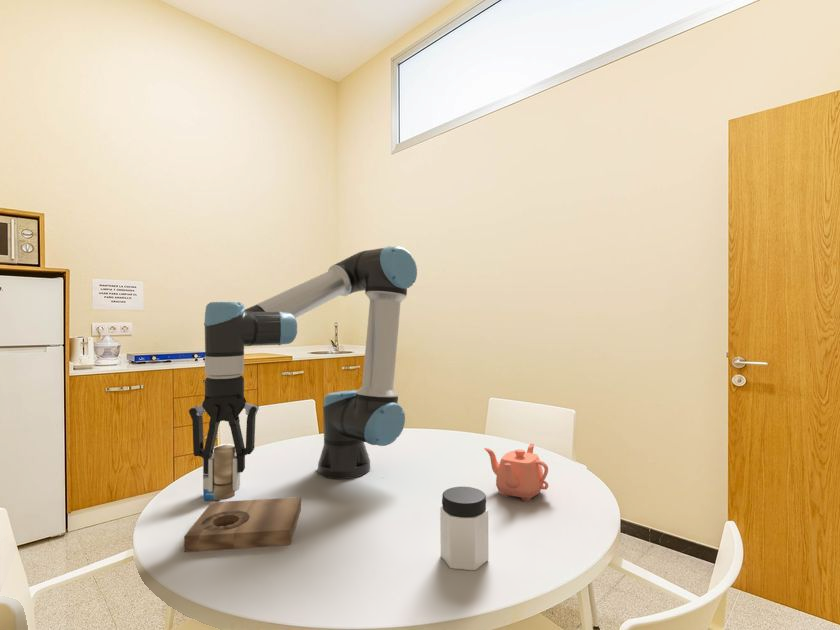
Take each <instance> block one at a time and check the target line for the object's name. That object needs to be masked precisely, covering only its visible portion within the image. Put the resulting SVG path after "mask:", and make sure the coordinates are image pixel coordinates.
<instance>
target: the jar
mask: <svg viewBox="0 0 840 630" xmlns="http://www.w3.org/2000/svg"><path fill="white" fill-rule="evenodd" d="M486 496H487V495H486V493H485V492H484V491H482V490H480V489H479V488H476V487H472V486H455V487H450V488H447V489H446V490H444V491H443V492H442V496H441V497H442V498H441V504H442V505H441V506H440V508H439V512H440V518H439V519H440V525H439V526H440V557H441V558H442V559H443V561H444V562H445V563H446V565H448V567H449V568H450V569H457V570H466V571H476V570H477V569H479V568H480V567H482V565H484V564H485V563H486V562H488V560H489V559H490V558H489V510H488V509H487V507H486V506H487V497H486Z"/></svg>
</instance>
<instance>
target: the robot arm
mask: <svg viewBox="0 0 840 630" xmlns="http://www.w3.org/2000/svg"><path fill="white" fill-rule="evenodd" d="M417 268H418V267H417V263H416V261H415V258H414V257H413V256H412V254H411V252H410V251H408V250H407V249H405V248H404V247H402V246H388V245H387V246H386V247H381V248H374V249H366V250H362V251H359V252H356V253H355V254H353V255H351V256H349V257H346V258H345V259H343V260H341V261H339V262H336V263H334V264H332V265H331V266H329V268H328V271H326V272H324V273H322V274H320V275H317V276H316V277H313V278H310V279H309V280H306V281H304V282H302V283H300V284H298V285H295V286H293V287H291V288H289V289H287V290H285V291H284V290H283V291H282V292H280V293H278V294H276V295H274V296H272V297H269V298H267V299H265V300H263V301H261V302H258V303H256V304H254V305H252V306H250V307H247V308H245V305H244V304H243V302H242V301H241V302H240V301H237V302H236V301H211V302H209V303H207V304H206V305H205V312H204V323H203V325H204V348H205V349H204V375H205V376H206V378H205V379H204V399H203V401H202V403H201V404H200V405H195V406H193V407H191V408H190V409H189V410H188V413H189V415H190V418H191V420H192V425H191V426H192V444H193V445H192V446H193V456H194V457H200V458H201V459H202V461H203V460H204V474H208V491H213V490H214V456H212V454H213V453H214V452H213V450H214V447H215V445H216V439H217V434H218V431H219V428H220V426H219V425H220V422H228V425H229V427H230V431H231V436H232V441H233V444H234V446H235V451H236V456H235V457H234V458H233V490H236V491H238V490H239V489H238V487H239V488H240V486H241V473H243V472H244V471H245V468H246V456H247V455H251V454H252V453H253V451H254V450H255V441H256V437H255V435H256V418H257V413H258V411H259V410H260V409H259V405H258V404H251V403H248V402H247V400H246V398H245V377H244V376H243V373H245V347H254V346H258V347H259V346H261V347H262V346H282V345H289V344H292V343H293V342H294V341H295V339H296V338H297V335H298V322H297V319H296V318H298V317H300V316H301V315H305V313H308V312H310V311H312V310H314V309H316V308H318V307H320V306H321V305H323V304H326V303H328V302H330V301H331V300H334V299H335V298H337V297H339V296H342V297H347V296H349V295H350V294H353V293H356V292H357V293H358V292H362V291H365V292H364V294H365V295H366V296H367V298H368V299H369V308H368V319H367V328H366V329H367V330H366V341H365V350H364V351H365V352H364V363H363V371H362V372H363V375H362V385H361V386H360V388H359V389H353V390H352V389H350V390H342V391H336V392H335V391H334V392H330V393H327V394H325V396H324V398H323V406H322V409H323V446H322V449H321V454H320V457H319V460H318V462H317V473H318V475H320V476H322V477H324V478H328V479H335V480H336V479H337V480H338V479H342V480H343V479H352V478H357V477H360V476H363V475H365V474H368V472H370V469H371V460H370V457H369V453H368V451H367V448H366V444H365V443H367V444H369V445H371V446H379V447H384V446H385V447H386V446H389V445H391V444H392V443H394V442H395V441H396V440H397V438H398V437H400V436H401V434H402V432H403V430H404V427H405V424H406V414H405V411H404V409H403V407H402V406H401V405H400V404H398V403H399V394H398V393H397V392H396V390H395V389H394V384H395V371H396V363H397V362H396V361H397V349H398V336H399V325H400V314H401V303H402V302H403V301H404V300H405V299H406V298H407V294H408V289H409V288H411V287H412V286H413V285H414V283H415V282H416V281H417V276H418V269H417ZM243 410H245V414H246V415H247V417H246V431H245V441H244V438H243V433H242V429H241V425H240V416H239V415H240V414H241V413H242V411H243ZM204 411H205V412H206V415H208V416H209V417H210V418H209V423H208V430H207V435H206V440H205V444H204V421H203V420H204V418H203V415H204V413H205V412H204ZM244 442H245V443H244Z"/></svg>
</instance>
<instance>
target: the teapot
mask: <svg viewBox="0 0 840 630" xmlns="http://www.w3.org/2000/svg"><path fill="white" fill-rule="evenodd" d="M534 447H535V444H534V443H530V444H529V445H528V447H527V449H526V450H524V449H521V448H519V449H515V450H511V451H509V452H506V453H505V454H504V455H502V456H501V459H500V461H499V462H498V460H497V457H496V454H495V452H494V451H493V450H492V449H490V448H487V447H484V448H483V450H484V451H486V452H487V454H488V455H489V458H490V459H489V460H490V465H491V470H492V472H493V473H494V474H495V476H496V477H495V478H496V479H495V486H496V488H497V490H498V493H501V494H502V496H503V497H511V496H512V497H517V498H522V499H521V500H522V501H524V502H525V501H526V502H531V501H532V498H533V497H535V496H537V495H538V494H539V493H540V492H541V491H543V490H544V491H545V490H547V489H549V483H548V482H547V481H545V480H546V478H547V476H548V473H549V466H548V465H547V463H546V462H545V461H543V460H540V457H539V455H538V454H536V453H534ZM543 469H544V470H543Z"/></svg>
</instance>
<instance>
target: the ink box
mask: <svg viewBox="0 0 840 630" xmlns="http://www.w3.org/2000/svg"><path fill="white" fill-rule="evenodd" d="M223 445H232V446H234V443H221V444H219V445H216V446H214V448H216V447H218V446H223ZM213 452H214V450H213ZM212 456H214V453H213V454H212ZM235 456H236V451H235ZM202 486H203V487H202V491H203V493H202V494H203V497H202V499H203V500H209V501H210V500H212V501H217V500H216V499H214V490H213V491H208V474H204V460H203V459H202ZM239 488H240V486H239V487H238V489H237V490H239ZM237 490H235V492H236V491H237Z"/></svg>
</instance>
